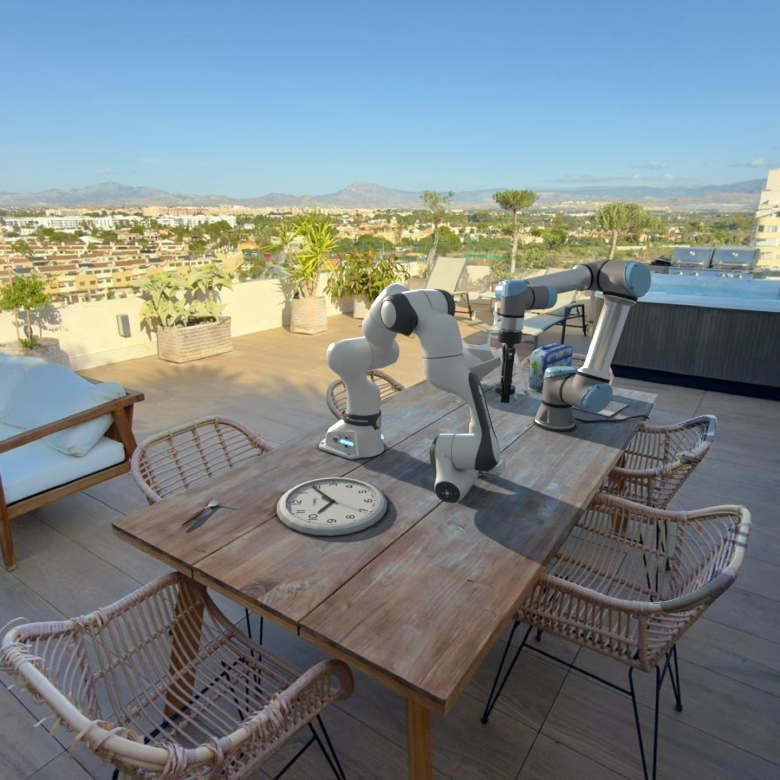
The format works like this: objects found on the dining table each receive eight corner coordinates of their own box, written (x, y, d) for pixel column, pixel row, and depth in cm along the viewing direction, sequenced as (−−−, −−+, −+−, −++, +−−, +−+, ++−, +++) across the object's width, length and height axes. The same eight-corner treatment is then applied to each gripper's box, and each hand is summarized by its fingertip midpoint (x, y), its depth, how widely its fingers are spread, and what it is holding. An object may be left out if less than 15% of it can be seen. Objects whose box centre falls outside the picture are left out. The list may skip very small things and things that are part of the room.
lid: (500, 396, 167) (500, 389, 166) (491, 390, 173) (492, 384, 172) (518, 395, 169) (518, 388, 168) (509, 389, 175) (509, 383, 174)
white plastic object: (461, 429, 252) (437, 405, 227) (444, 352, 274) (420, 323, 250) (535, 404, 240) (518, 377, 215) (510, 326, 262) (492, 293, 237)
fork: (176, 526, 131) (176, 519, 130) (217, 497, 145) (217, 491, 145) (185, 528, 130) (184, 521, 130) (225, 499, 145) (224, 492, 144)
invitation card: (608, 416, 214) (573, 407, 224) (608, 416, 214) (573, 408, 224) (628, 404, 229) (594, 396, 238) (628, 405, 229) (594, 397, 238)
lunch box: (544, 395, 239) (549, 351, 233) (524, 390, 247) (528, 347, 240) (571, 384, 257) (577, 343, 251) (552, 380, 264) (556, 339, 258)
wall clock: (392, 527, 129) (268, 531, 127) (391, 533, 130) (269, 537, 127) (383, 473, 158) (282, 475, 155) (383, 478, 158) (282, 480, 156)
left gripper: (501, 466, 145) (511, 448, 158) (431, 452, 153) (446, 436, 166) (499, 486, 147) (509, 467, 159) (431, 472, 155) (445, 454, 167)
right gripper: (497, 324, 174) (491, 390, 181) (500, 335, 156) (493, 408, 163) (520, 325, 173) (513, 391, 180) (525, 336, 155) (518, 409, 162)
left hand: (477, 451), depth 163 cm, fingers closed on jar, 5 cm apart
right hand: (504, 399), depth 171 cm, fingers closed on lid, 6 cm apart
